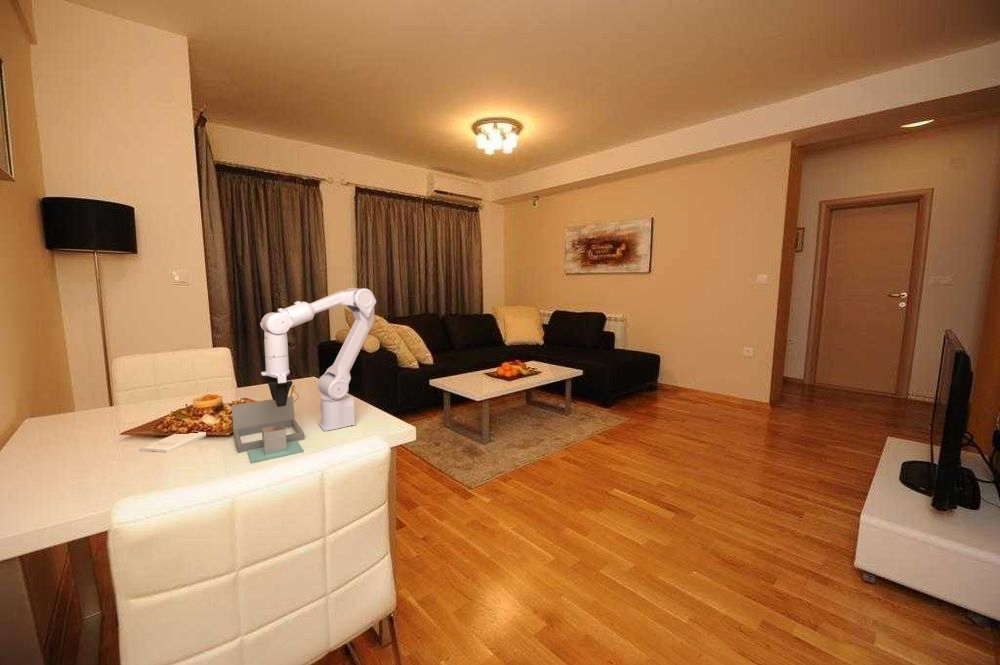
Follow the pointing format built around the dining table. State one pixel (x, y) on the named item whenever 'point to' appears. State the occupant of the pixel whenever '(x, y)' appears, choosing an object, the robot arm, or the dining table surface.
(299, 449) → the module mat
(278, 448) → the block
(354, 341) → the robot arm
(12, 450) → the dining table surface
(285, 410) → the equipment case
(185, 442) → the external hard drive
